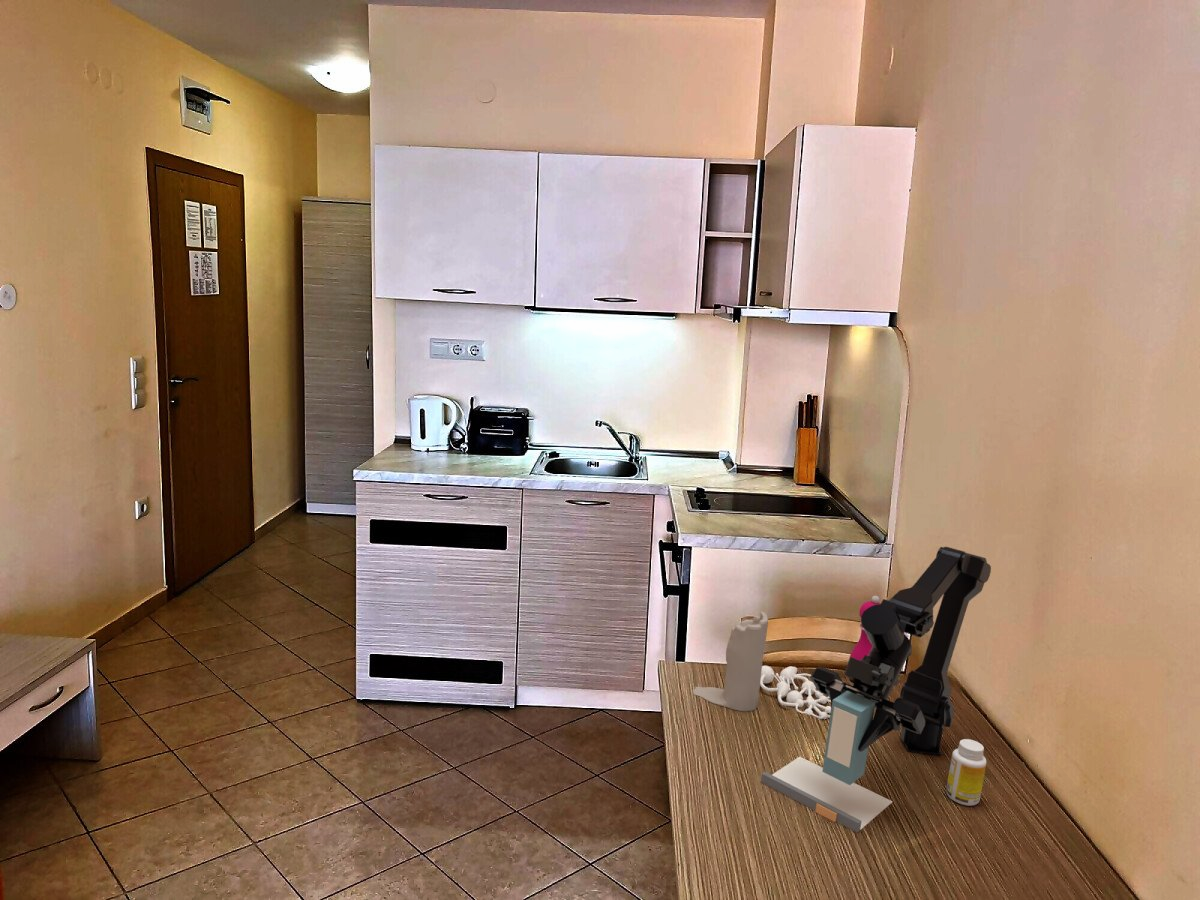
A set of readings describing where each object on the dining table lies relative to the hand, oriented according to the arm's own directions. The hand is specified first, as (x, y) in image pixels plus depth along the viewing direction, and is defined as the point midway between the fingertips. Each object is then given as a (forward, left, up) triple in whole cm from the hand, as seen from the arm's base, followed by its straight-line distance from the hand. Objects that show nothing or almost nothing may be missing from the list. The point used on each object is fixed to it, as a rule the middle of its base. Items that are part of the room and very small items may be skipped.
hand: (844, 743), depth 142 cm
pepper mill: (-15, -56, -13) cm, 59 cm away
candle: (+17, -37, -13) cm, 43 cm away
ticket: (+2, +3, -13) cm, 13 cm away
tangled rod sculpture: (+1, -43, -14) cm, 45 cm away
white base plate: (+1, -5, -13) cm, 14 cm away
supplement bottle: (-24, -11, -13) cm, 29 cm away
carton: (-1, -1, -6) cm, 6 cm away
